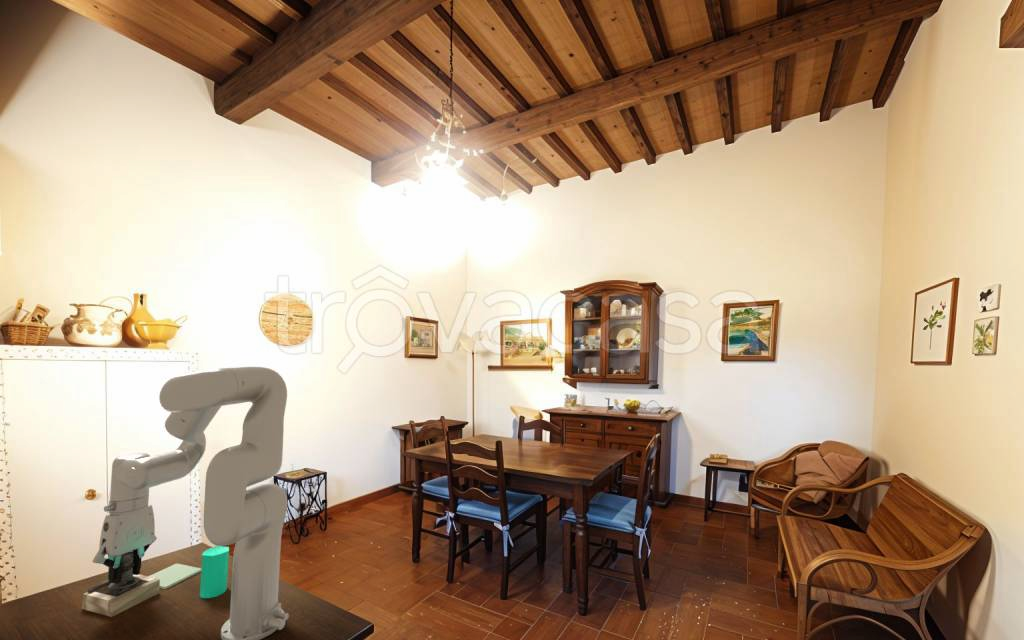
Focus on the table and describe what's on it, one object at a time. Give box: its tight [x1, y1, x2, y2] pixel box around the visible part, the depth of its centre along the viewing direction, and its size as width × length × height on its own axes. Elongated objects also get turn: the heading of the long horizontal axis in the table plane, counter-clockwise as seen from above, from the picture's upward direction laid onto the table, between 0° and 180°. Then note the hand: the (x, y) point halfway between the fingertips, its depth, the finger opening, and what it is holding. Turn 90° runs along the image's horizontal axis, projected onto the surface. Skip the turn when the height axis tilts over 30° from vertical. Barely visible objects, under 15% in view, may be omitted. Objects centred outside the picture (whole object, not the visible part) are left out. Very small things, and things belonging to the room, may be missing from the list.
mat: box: [147, 563, 202, 590], centre depth 120 cm, size 10×10×1 cm
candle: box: [199, 545, 230, 599], centre depth 113 cm, size 6×6×12 cm
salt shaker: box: [108, 551, 140, 597], centre depth 109 cm, size 6×6×12 cm
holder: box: [81, 574, 160, 618], centre depth 108 cm, size 10×10×4 cm
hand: (124, 577), depth 109 cm, fingers closed on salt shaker, 3 cm apart
